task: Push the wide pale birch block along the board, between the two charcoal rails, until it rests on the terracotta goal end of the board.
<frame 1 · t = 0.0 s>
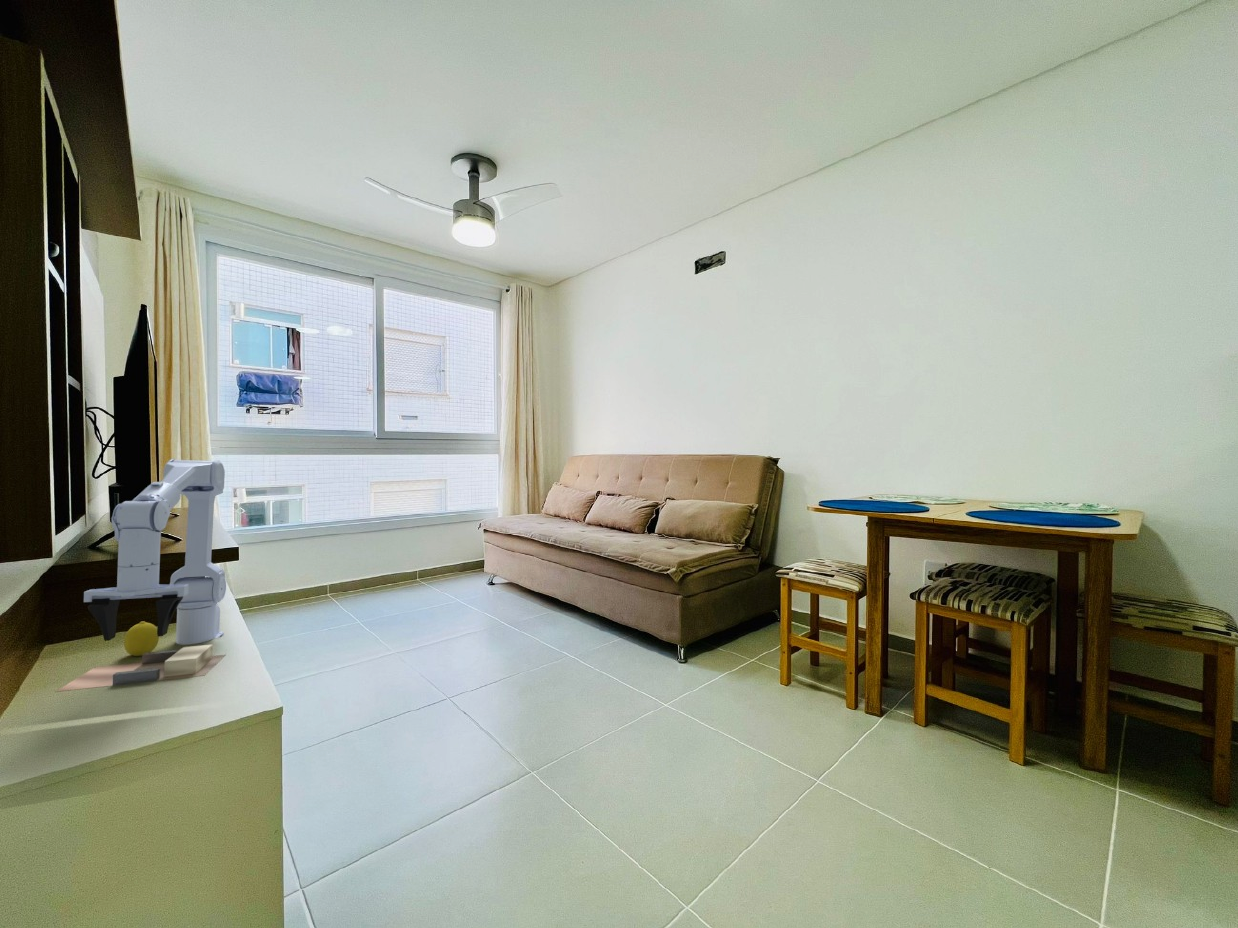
hand: (136, 636, 93), 10 cm above the table, tool pointing down, fingers open, 7 cm apart
block: (189, 667, 103), point 1 cm above the table, touching board
lemon: (141, 658, 109), on the table
channel: (150, 666, 100), on the board, point 1 cm above the table
board: (148, 675, 100), on the table
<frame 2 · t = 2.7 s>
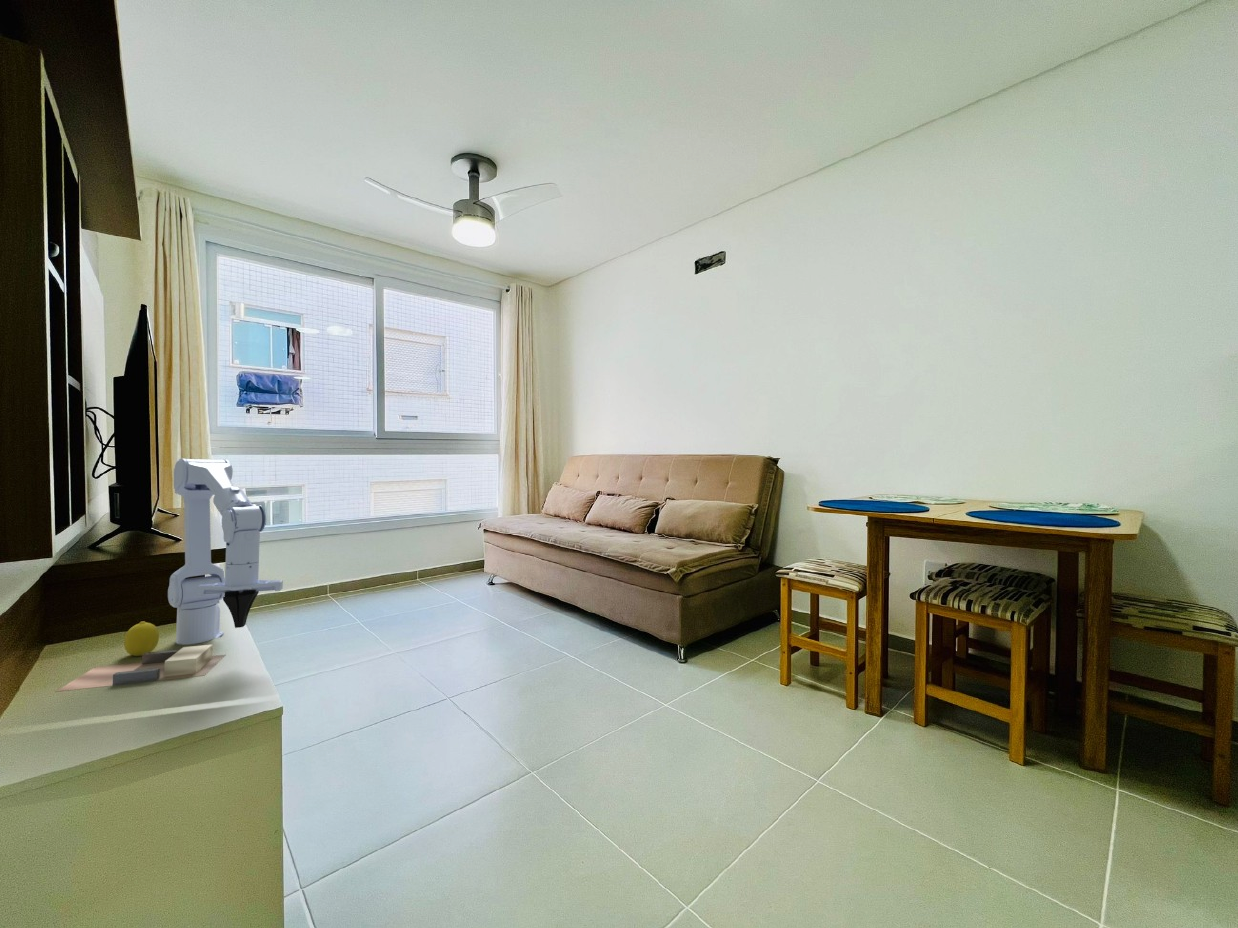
hand: (240, 626, 106), 8 cm above the table, tool pointing down, fingers closed
nothing on the table moved.
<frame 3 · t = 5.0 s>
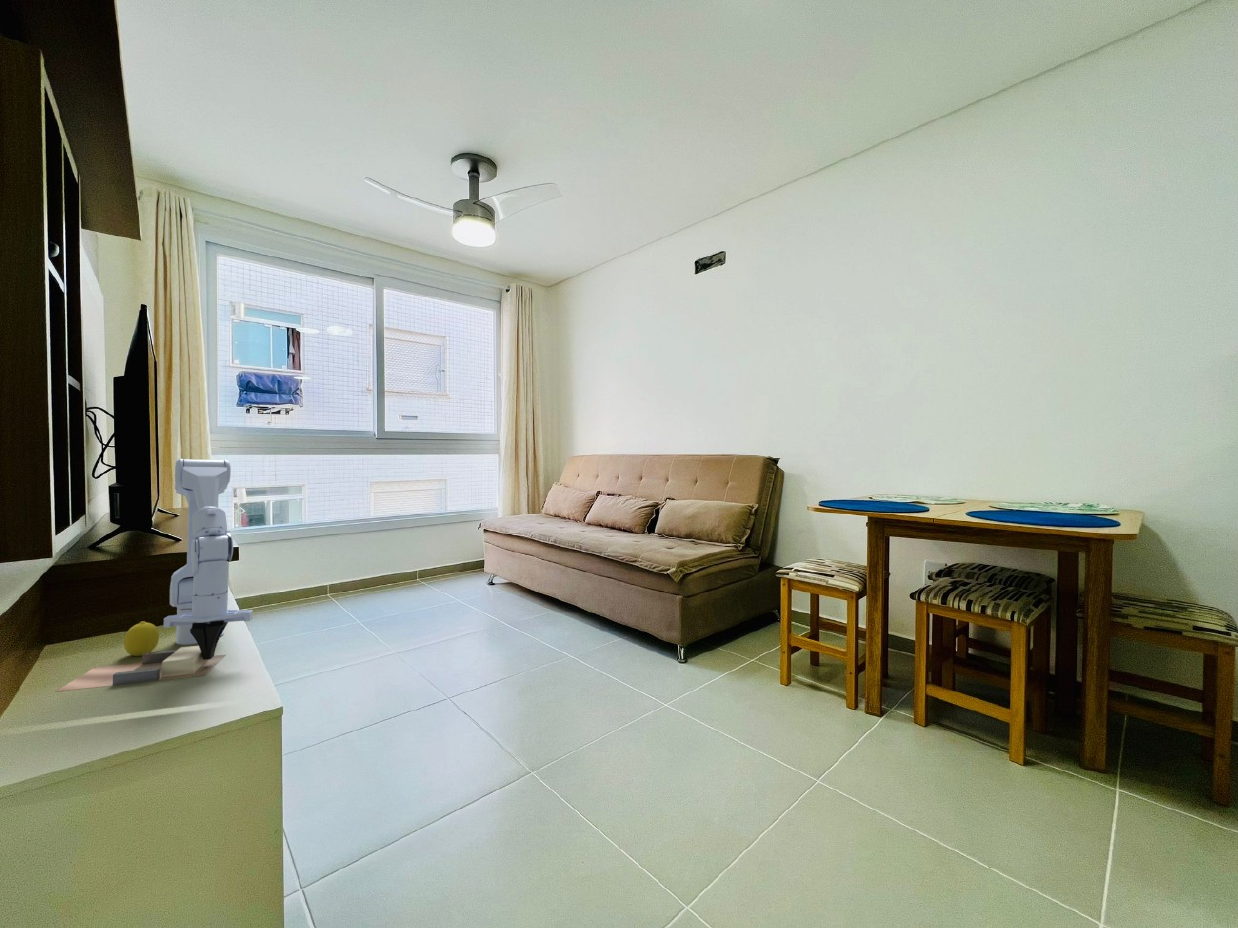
hand: (208, 657, 104), 2 cm above the table, tool pointing down, fingers closed
block: (186, 667, 103), point 1 cm above the table, touching gripper
everything else where it was.
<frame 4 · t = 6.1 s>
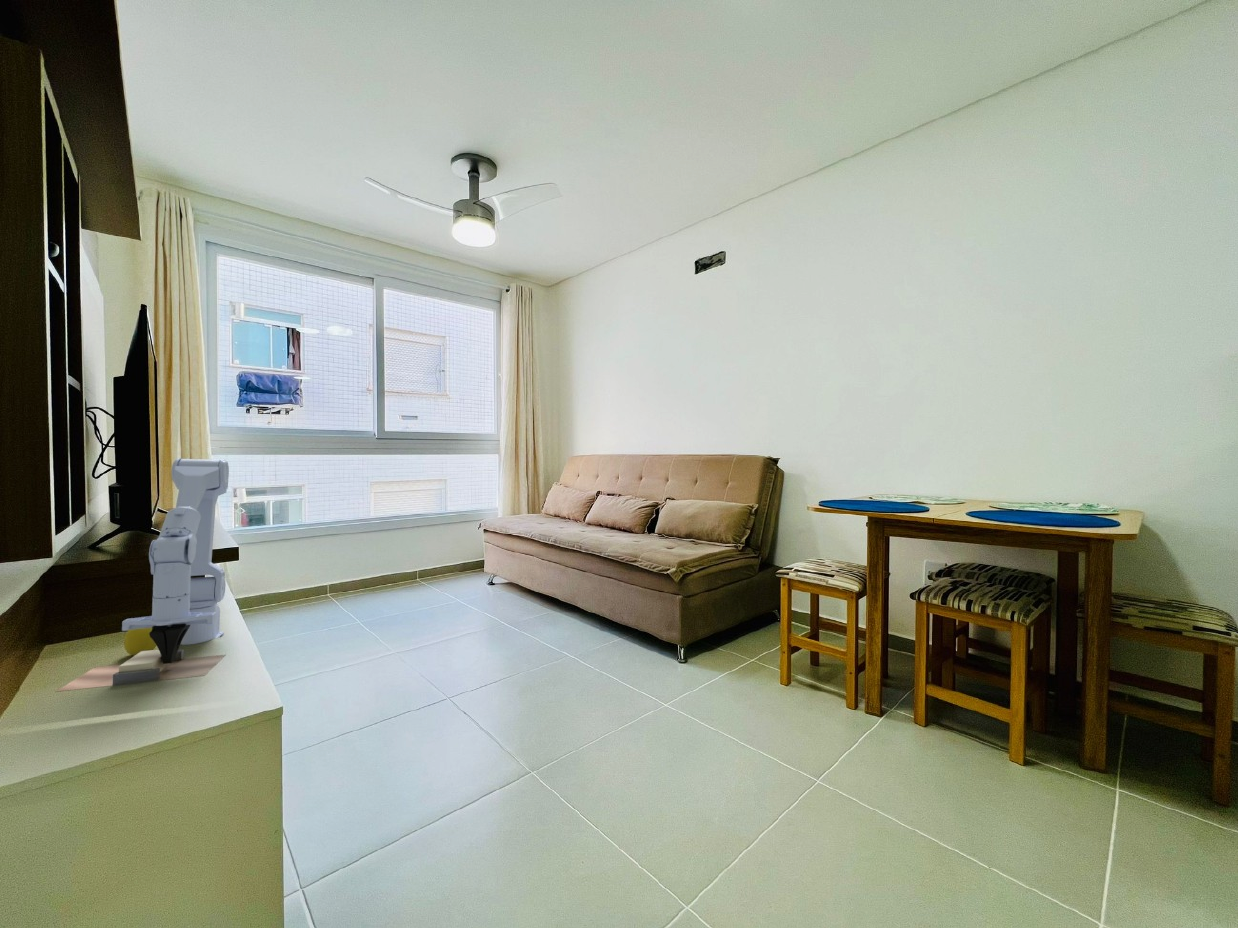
hand: (169, 661, 101), 2 cm above the table, tool pointing down, fingers closed
block: (146, 671, 100), point 1 cm above the table, touching gripper
everything else where it was.
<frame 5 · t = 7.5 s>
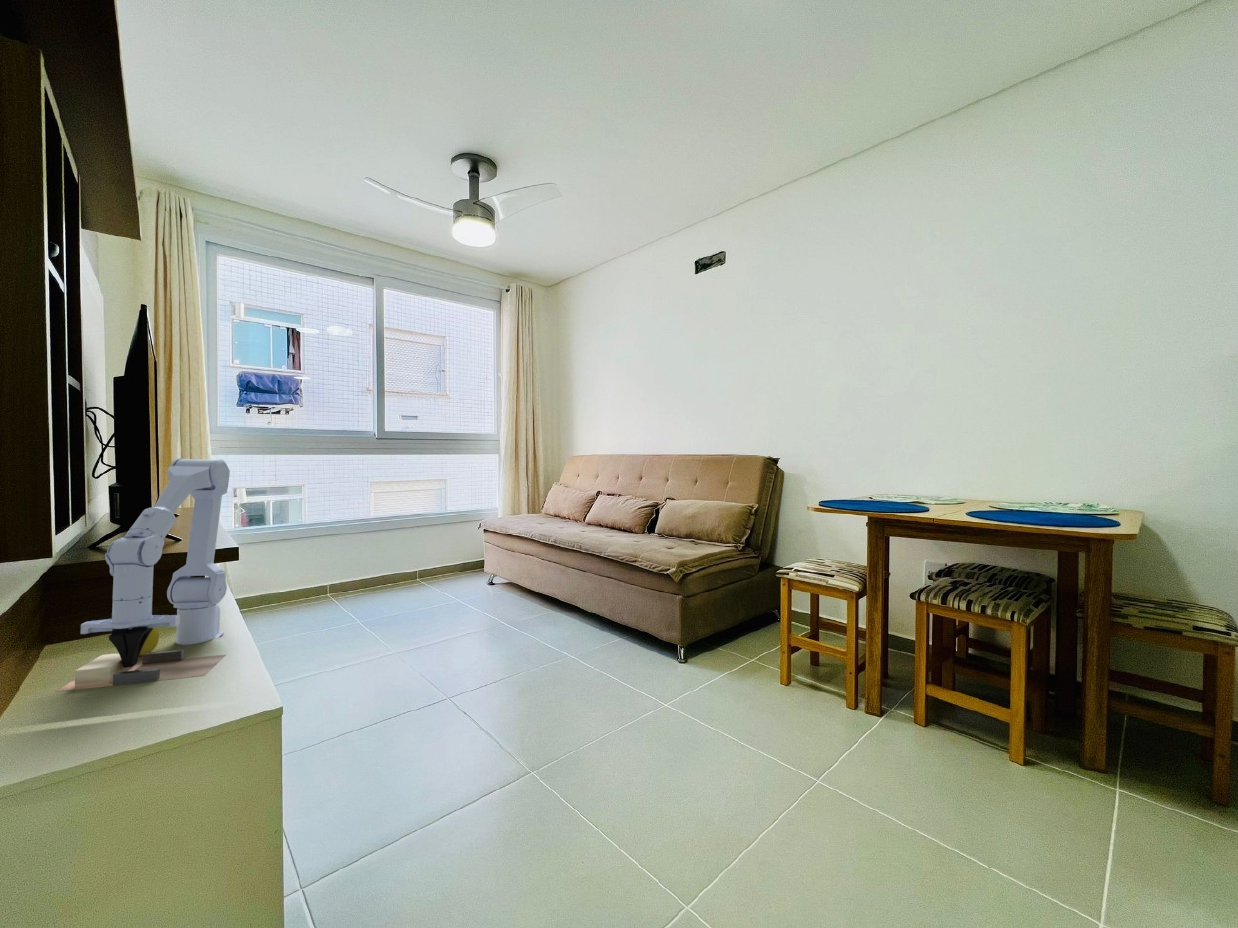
hand: (130, 665, 99), 2 cm above the table, tool pointing down, fingers closed
block: (105, 676, 97), point 1 cm above the table
everything else where it was.
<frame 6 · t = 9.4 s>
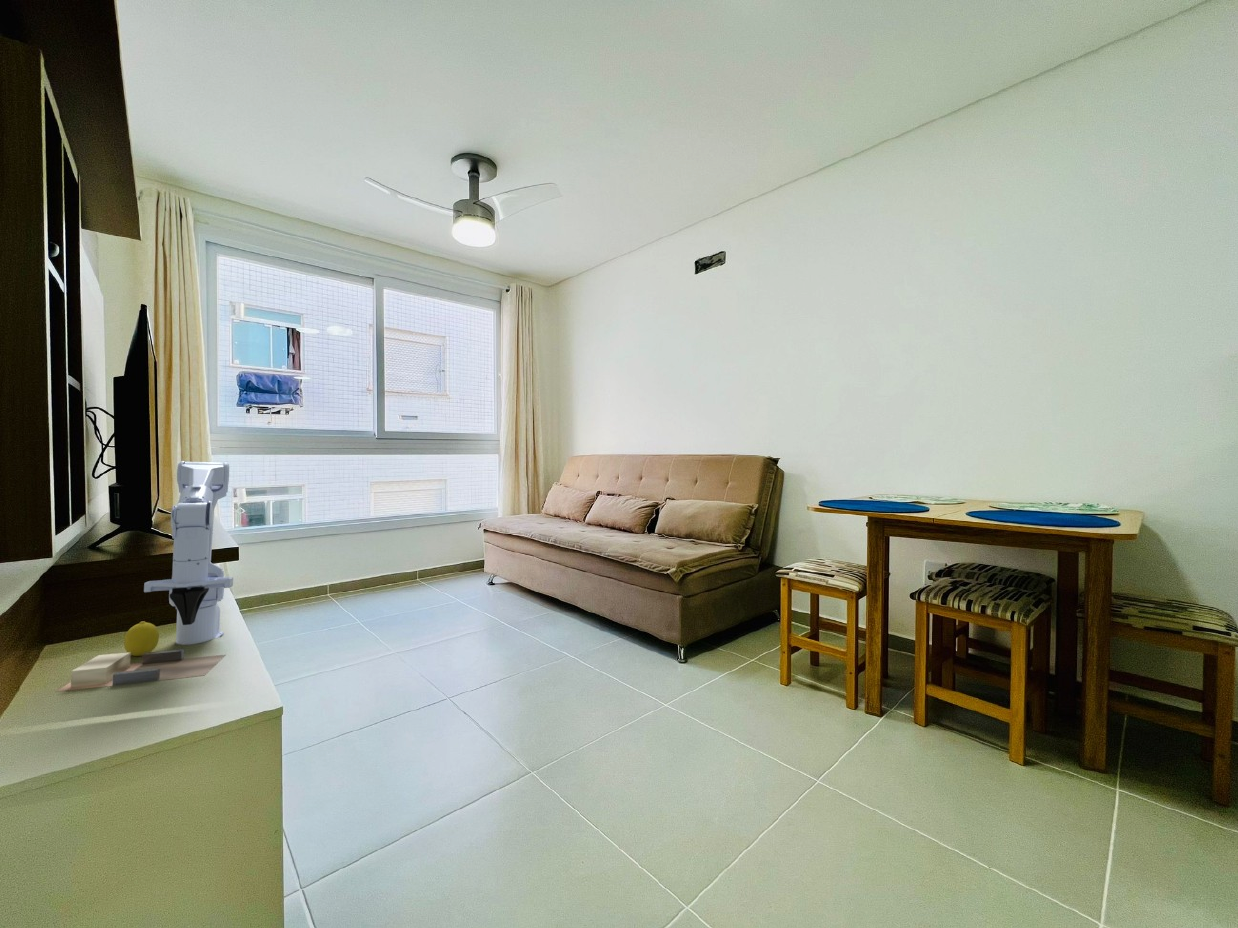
hand: (188, 623, 105), 9 cm above the table, tool pointing down, fingers closed
block: (101, 676, 97), point 1 cm above the table, touching board
everything else where it was.
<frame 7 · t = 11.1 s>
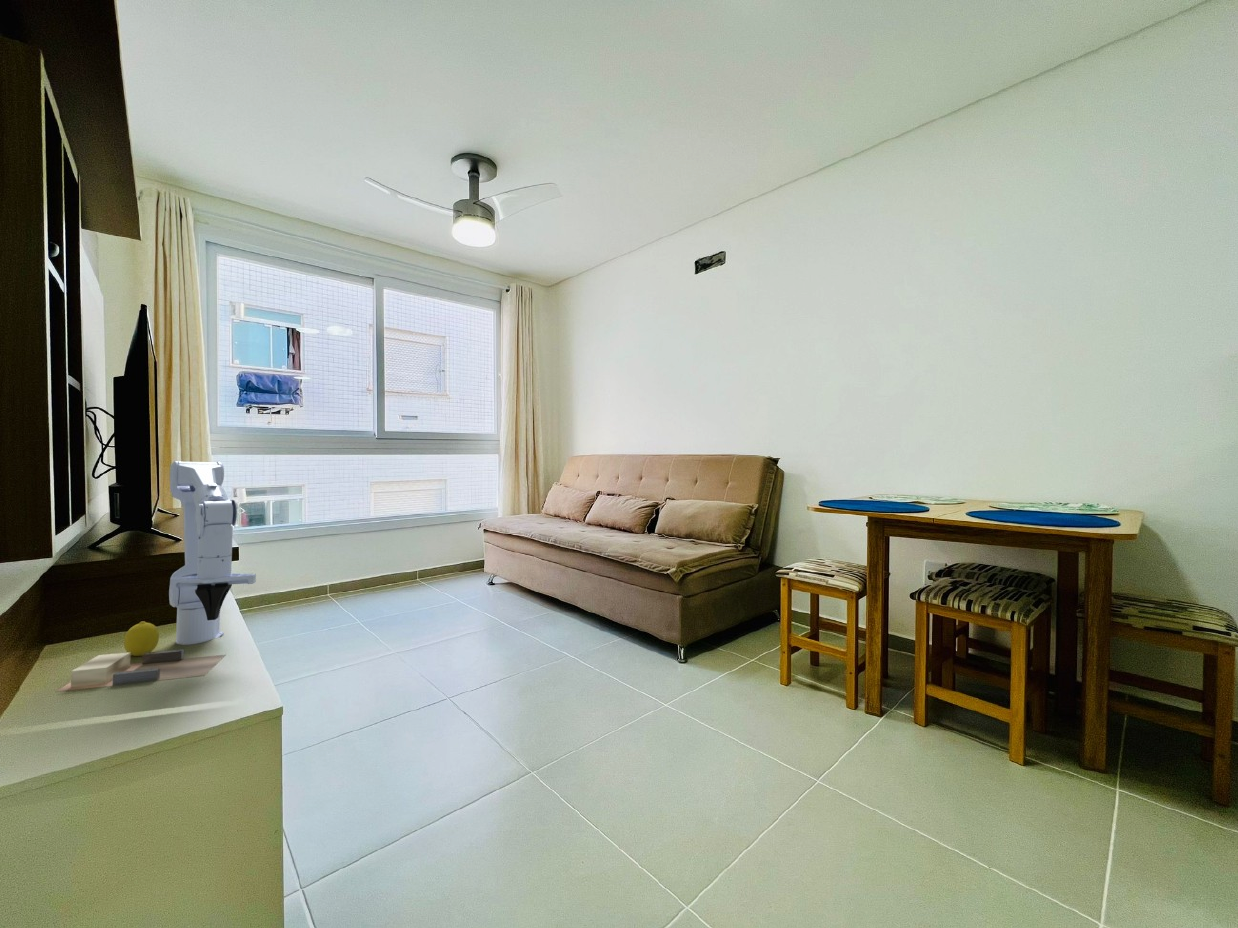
hand: (212, 618, 107), 9 cm above the table, tool pointing down, fingers closed
nothing on the table moved.
at the end: block inside the target area (1.2 cm from its centre), point 0.8 cm above the table; block tilted 0°; the gripper is holding nothing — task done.
